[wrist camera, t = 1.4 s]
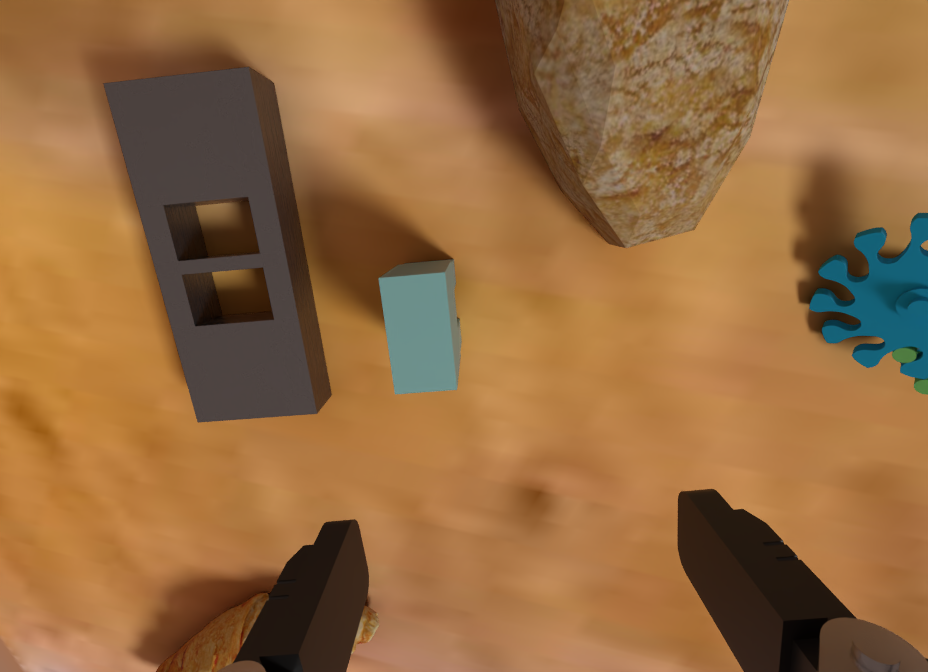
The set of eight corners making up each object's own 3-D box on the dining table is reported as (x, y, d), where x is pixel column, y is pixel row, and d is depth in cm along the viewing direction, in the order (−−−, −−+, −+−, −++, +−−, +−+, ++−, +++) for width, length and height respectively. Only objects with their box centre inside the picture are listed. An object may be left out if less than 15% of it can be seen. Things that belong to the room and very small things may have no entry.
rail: (144, 97, 26) (103, 83, 24) (273, 83, 26) (248, 67, 23) (222, 403, 32) (197, 422, 29) (331, 395, 31) (317, 413, 29)
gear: (805, 231, 26) (1098, 207, 19) (824, 200, 29) (1078, 169, 22) (808, 385, 30) (1048, 415, 23) (825, 343, 34) (1038, 356, 26)
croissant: (374, 543, 39) (331, 574, 31) (411, 666, 37) (373, 732, 29) (173, 617, 41) (86, 663, 34) (194, 738, 39) (106, 816, 31)
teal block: (404, 260, 29) (378, 278, 21) (453, 255, 29) (445, 272, 21) (415, 347, 30) (395, 394, 23) (461, 344, 30) (456, 389, 22)
